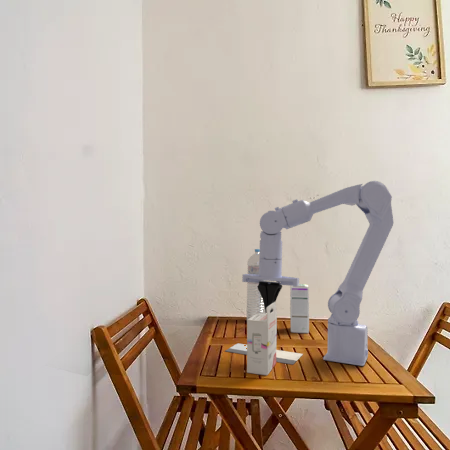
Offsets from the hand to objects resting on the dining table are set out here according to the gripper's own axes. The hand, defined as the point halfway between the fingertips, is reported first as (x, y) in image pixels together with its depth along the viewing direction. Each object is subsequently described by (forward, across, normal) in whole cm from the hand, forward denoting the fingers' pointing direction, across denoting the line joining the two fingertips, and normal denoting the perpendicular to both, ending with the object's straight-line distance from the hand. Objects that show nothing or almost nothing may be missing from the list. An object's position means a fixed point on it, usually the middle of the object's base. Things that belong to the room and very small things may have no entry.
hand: (269, 312), depth 100 cm
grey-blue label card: (+11, +7, -1) cm, 13 cm away
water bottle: (+11, +16, -34) cm, 39 cm away
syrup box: (+11, 0, -28) cm, 30 cm away
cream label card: (+10, -3, 0) cm, 11 cm away
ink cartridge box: (+11, -2, +10) cm, 15 cm away
